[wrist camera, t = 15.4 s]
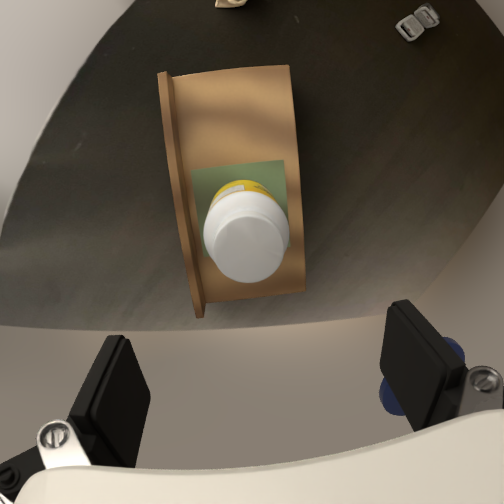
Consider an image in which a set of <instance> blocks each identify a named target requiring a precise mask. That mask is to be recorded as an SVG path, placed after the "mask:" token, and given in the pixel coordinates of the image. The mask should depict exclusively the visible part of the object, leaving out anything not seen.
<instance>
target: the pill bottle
mask: <svg viewBox="0 0 504 504" xmlns="http://www.w3.org/2000/svg"><path fill="white" fill-rule="evenodd" d="M203 236H204V243H205V247H206V249H207V251H208V253H209V255H210V257H211V258H212V259H213V261H214V262H215V263H216V265H217V267H218V268H219V269H220V271H221V272H222V273H223V274H224V275H225V276H227V277H228V278H230V279H232V280H234V281H237V282H242V283H254V282H259V281H262V280H264V279H266V278H268V277H269V276H271V275H272V274H273V273H274V272H275V271H276V270H277V269H278V267H279V266H280V264H281V262H282V259H283V256H284V253H285V251H286V249H287V246H288V242H289V225H288V221H287V218H286V216H285V214H284V212H283V210H282V209H281V207H280V206H279V204H278V203H277V201H276V200H275V198H274V197H273V195H272V194H271V192H270V191H269V190H268V189H267V188H266V187H265V186H263V185H262V184H260V183H258V182H256V181H253V180H248V179H239V180H234V181H231V182H229V183H227V184H225V185H224V186H223V187H221V188H220V189H219V190H218V192H217V193H216V194H215V196H214V198H213V200H212V202H211V205H210V208H209V211H208V214H207V217H206V220H205V224H204V231H203Z"/></svg>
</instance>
